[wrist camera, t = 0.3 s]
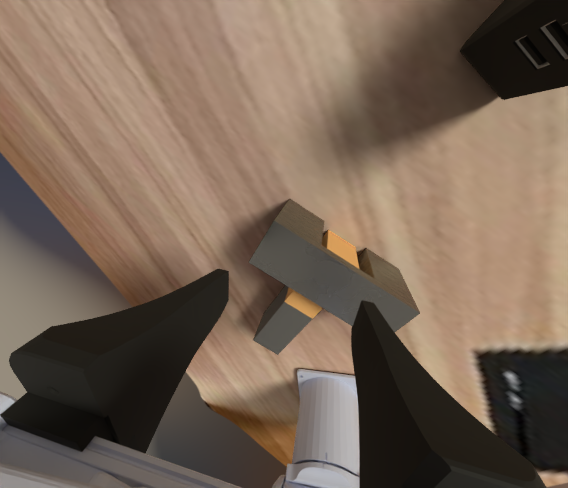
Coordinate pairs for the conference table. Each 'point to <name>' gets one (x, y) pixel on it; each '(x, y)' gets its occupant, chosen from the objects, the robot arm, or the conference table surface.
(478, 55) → the electronic device
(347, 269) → the grey rectangular block
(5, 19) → the conference table surface
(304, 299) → the orange and grey bar
